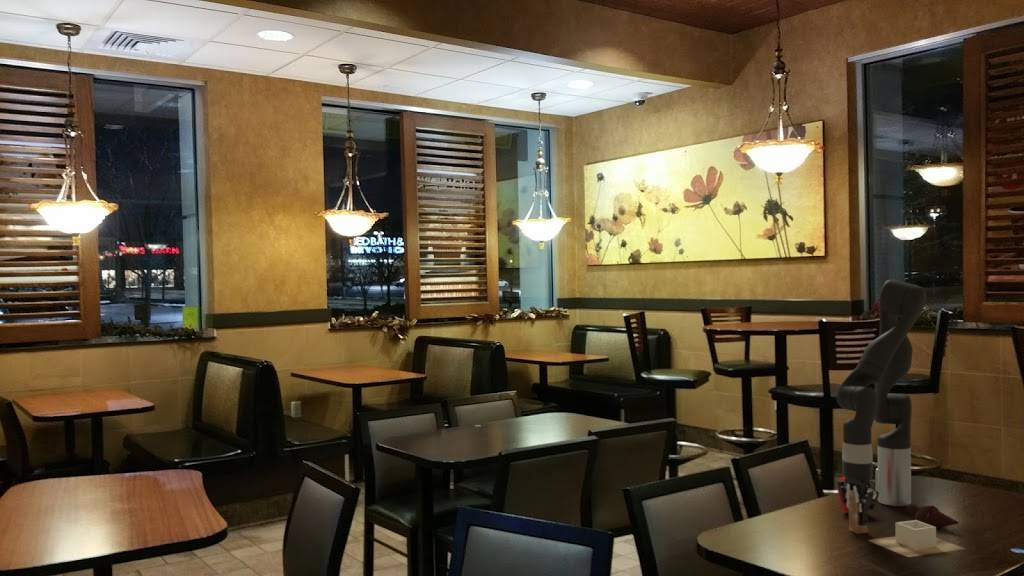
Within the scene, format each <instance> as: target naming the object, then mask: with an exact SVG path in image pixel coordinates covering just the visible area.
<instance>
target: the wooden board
mask: <svg viewBox="0 0 1024 576" xmlns="http://www.w3.org/2000/svg"><path fill="white" fill-rule="evenodd" d="M867 541H868V542H870V543H873V544H875V545H878V546H880V547H882V548H885V549H887V550H889V551H892V552H895V553H896V554H899V555H902V556H904V557H906V558H912V557H919V556H926V555H927V556H928V555H934V554H941V553H947V552H956V551H961V550H966V548H965V547H962V546H961V545H960V546H959V545H956V544H954V543H951V542H948V541H946V540H944V539H942V538H941V539H940V538H938V537H936V547H932V548H925V549H917V550H914V549H912V548H909V547H907V546H904V545H902V544H899V543H897V542H896V536H889V537H888V536H887V537H881V538H873V539H867Z"/></svg>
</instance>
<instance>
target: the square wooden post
mask: <svg viewBox="0 0 1024 576" xmlns="http://www.w3.org/2000/svg"><path fill="white" fill-rule="evenodd" d="M865 498H866V497H865ZM865 498H860V499H861V500H864V499H865ZM862 506H863V507H864V503H862ZM848 531H850V532H852V533H855V534H858V535H859V534H864V533H865V534H866V533H868V524H867V525H866V526H860V525H859V509H858V503H857V502H856V499H855V492H854V490H850V497H849V518H848Z"/></svg>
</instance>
